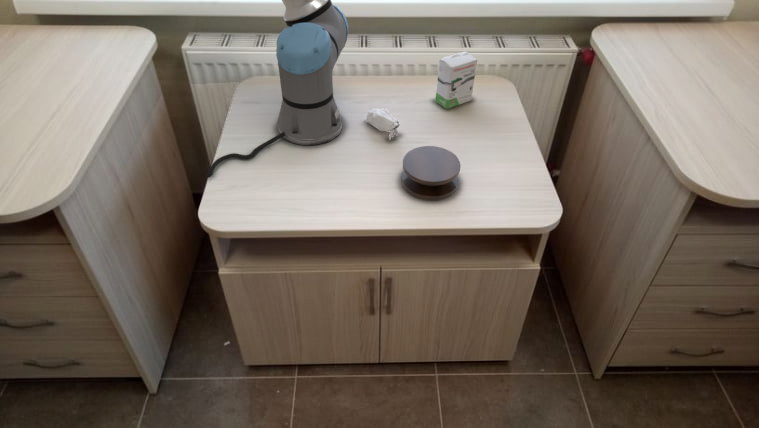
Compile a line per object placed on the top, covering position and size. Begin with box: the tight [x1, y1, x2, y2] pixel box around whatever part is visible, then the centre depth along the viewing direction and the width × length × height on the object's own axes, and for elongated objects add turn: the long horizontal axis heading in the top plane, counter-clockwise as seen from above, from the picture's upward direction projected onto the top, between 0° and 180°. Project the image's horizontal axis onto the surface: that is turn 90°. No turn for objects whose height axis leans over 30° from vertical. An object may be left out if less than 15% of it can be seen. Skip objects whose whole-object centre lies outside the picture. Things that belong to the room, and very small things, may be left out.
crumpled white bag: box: [364, 107, 401, 141], centre depth 129 cm, size 5×7×10 cm
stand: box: [401, 145, 461, 202], centre depth 115 cm, size 12×12×5 cm
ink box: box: [434, 51, 478, 110], centre depth 136 cm, size 9×5×12 cm, turn 123°
